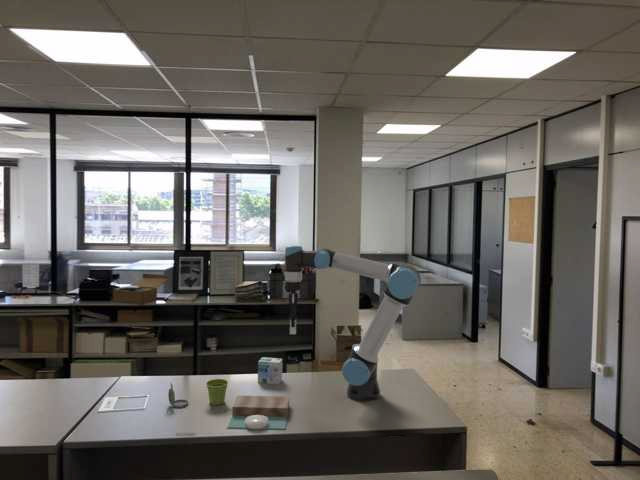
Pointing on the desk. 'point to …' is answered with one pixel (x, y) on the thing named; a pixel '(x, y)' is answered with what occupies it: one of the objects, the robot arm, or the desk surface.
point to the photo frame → (111, 401)
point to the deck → (261, 406)
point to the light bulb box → (270, 370)
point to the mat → (273, 423)
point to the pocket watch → (178, 402)
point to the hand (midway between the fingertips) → (292, 333)
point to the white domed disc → (256, 422)
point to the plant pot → (217, 390)
